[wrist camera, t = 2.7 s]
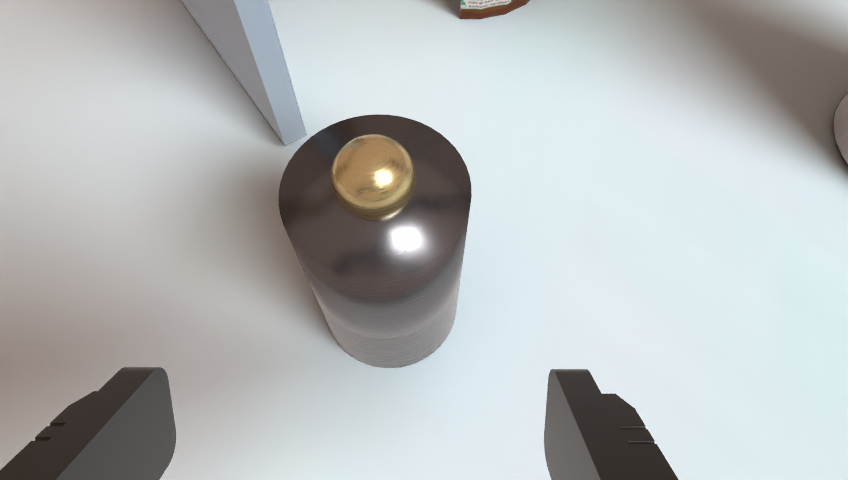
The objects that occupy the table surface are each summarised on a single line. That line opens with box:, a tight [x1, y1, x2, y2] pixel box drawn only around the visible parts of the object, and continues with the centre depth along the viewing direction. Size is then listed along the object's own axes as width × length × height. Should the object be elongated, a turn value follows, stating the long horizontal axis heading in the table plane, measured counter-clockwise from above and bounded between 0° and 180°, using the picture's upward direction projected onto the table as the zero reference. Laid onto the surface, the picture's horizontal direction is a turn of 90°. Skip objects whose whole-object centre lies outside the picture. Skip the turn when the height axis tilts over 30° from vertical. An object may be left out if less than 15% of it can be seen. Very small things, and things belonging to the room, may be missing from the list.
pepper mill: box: [279, 115, 471, 368], centre depth 20 cm, size 6×6×11 cm
